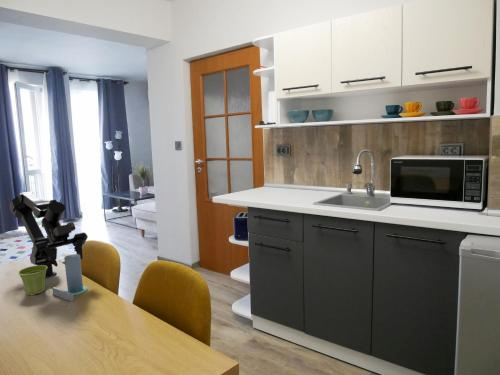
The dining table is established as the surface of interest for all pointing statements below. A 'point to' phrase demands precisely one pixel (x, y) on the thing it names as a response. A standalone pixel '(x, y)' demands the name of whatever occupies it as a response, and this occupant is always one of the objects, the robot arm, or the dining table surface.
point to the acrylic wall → (62, 293)
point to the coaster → (80, 291)
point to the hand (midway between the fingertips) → (69, 262)
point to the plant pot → (33, 279)
